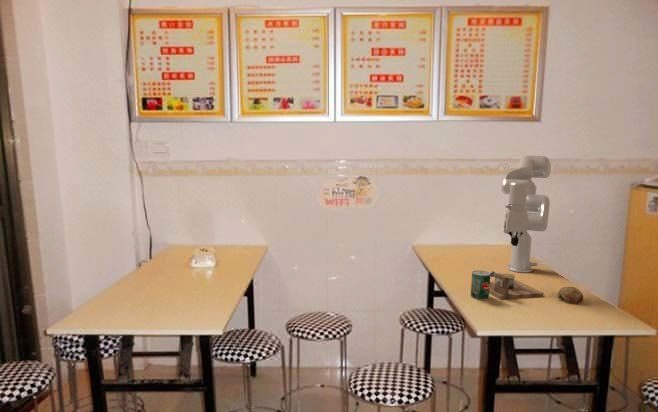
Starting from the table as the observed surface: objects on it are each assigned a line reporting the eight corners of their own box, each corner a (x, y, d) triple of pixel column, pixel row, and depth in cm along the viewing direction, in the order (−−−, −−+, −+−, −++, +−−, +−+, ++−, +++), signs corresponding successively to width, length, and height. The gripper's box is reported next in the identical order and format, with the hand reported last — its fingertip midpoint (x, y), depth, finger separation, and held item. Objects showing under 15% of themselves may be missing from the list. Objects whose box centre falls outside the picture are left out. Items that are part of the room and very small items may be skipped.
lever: (517, 287, 218) (518, 277, 217) (506, 288, 217) (507, 277, 216) (495, 278, 233) (496, 267, 233) (485, 278, 232) (486, 268, 231)
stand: (515, 282, 232) (517, 264, 231) (543, 296, 213) (545, 275, 211) (475, 285, 227) (477, 266, 225) (500, 299, 207) (501, 278, 206)
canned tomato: (488, 300, 206) (490, 276, 204) (469, 298, 208) (471, 274, 207) (489, 295, 213) (490, 271, 211) (471, 292, 216) (472, 269, 214)
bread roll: (554, 305, 212) (550, 290, 210) (570, 293, 215) (566, 279, 213) (574, 312, 203) (569, 297, 201) (590, 300, 206) (586, 285, 204)
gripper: (503, 209, 220) (501, 247, 223) (536, 209, 220) (533, 247, 223) (498, 206, 228) (496, 243, 231) (529, 206, 227) (526, 243, 230)
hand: (514, 245), depth 227 cm, fingers closed
